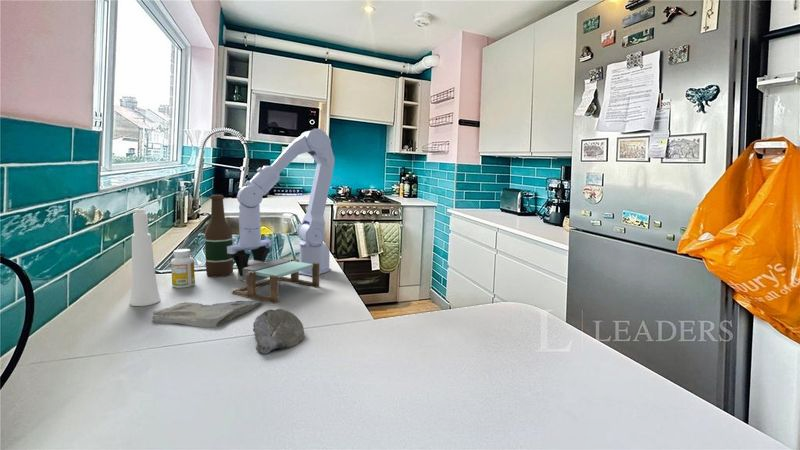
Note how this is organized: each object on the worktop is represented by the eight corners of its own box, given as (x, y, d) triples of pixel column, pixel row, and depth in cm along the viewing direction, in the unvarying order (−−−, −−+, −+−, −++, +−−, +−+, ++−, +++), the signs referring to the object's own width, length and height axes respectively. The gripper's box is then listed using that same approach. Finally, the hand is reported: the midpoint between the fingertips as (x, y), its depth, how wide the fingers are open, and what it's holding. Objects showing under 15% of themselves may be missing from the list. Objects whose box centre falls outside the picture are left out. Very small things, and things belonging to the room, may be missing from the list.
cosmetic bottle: (159, 296, 94) (154, 207, 91) (161, 303, 89) (156, 209, 86) (129, 300, 90) (123, 208, 88) (129, 308, 86) (123, 210, 83)
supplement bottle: (187, 281, 107) (185, 247, 106) (199, 284, 105) (197, 249, 103) (167, 286, 102) (166, 250, 101) (180, 289, 100) (178, 253, 99)
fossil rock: (146, 325, 78) (145, 314, 78) (192, 301, 93) (192, 292, 93) (227, 330, 76) (227, 319, 76) (261, 306, 91) (261, 296, 91)
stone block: (251, 275, 115) (251, 259, 114) (263, 278, 113) (263, 261, 112) (238, 279, 110) (237, 262, 110) (250, 282, 108) (250, 264, 108)
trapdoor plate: (280, 268, 110) (280, 258, 110) (313, 274, 105) (313, 263, 105) (241, 280, 98) (241, 268, 97) (276, 287, 93) (276, 275, 92)
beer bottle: (225, 269, 121) (222, 193, 118) (238, 273, 117) (236, 195, 114) (200, 274, 115) (197, 194, 112) (214, 278, 111) (211, 195, 107)
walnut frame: (281, 277, 113) (281, 256, 112) (321, 285, 107) (321, 262, 106) (229, 294, 97) (229, 269, 96) (272, 304, 91) (272, 277, 90)
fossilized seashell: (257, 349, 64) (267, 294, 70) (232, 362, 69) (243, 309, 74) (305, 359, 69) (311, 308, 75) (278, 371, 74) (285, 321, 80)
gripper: (259, 224, 118) (259, 267, 120) (218, 229, 105) (220, 277, 107) (276, 226, 115) (277, 270, 117) (236, 232, 102) (238, 281, 104)
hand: (251, 274), depth 111 cm, fingers closed on stone block, 5 cm apart
